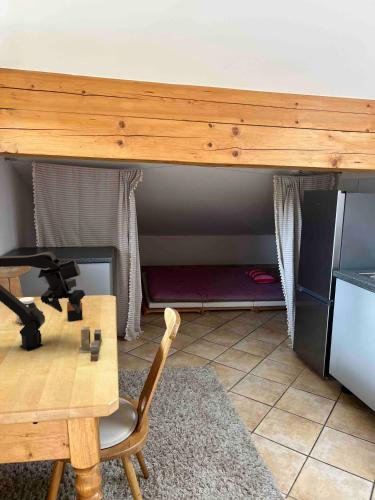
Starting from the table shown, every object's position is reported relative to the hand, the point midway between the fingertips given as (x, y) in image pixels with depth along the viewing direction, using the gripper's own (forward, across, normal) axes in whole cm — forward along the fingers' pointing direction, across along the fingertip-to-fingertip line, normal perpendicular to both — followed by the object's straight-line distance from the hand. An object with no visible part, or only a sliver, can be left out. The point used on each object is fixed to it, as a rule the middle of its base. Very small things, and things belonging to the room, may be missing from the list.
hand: (70, 312), depth 143 cm
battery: (+18, +16, -14) cm, 28 cm away
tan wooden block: (+10, -10, +10) cm, 18 cm away
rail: (+11, -11, +10) cm, 18 cm away
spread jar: (+12, +32, -5) cm, 34 cm away
